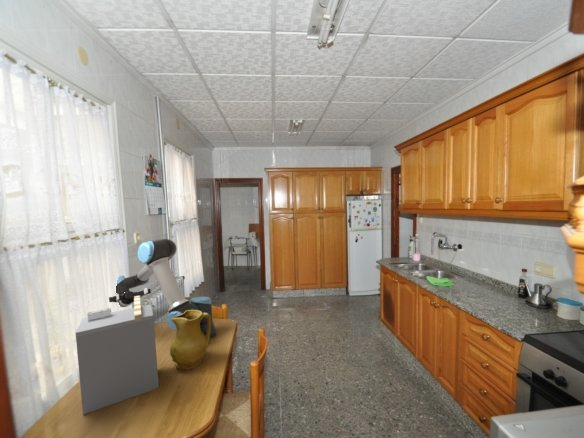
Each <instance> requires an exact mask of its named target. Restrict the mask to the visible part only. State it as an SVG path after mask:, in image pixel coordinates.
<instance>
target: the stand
mask: <svg viewBox="0 0 584 438" xmlns="http://www.w3.org/2000/svg"><path fill="white" fill-rule="evenodd" d="M111 314H112V315H111V316H110V317H106V318H101V319H96V320H92V321H88V317H84V318H82V319H81V320H80V323H79V325H78V327H77V329H76V331H75V342H76V353H77V362H78V372H79V374H78V376H79V384H80V396H81V397H80V398H81V406H82V416H83V415H87V414H89V413H92V412H94V411H98V410H101V409H104V408H106V407H108V406H111V405H114V404H117V403H120V402H122V401H125V400H128V399H131V398H133V397H137V396H140V395H143V394H145V393H148V392H150V391H153V390H156V389H158V388H159V387H160V386H159V385H160V383H159V371H158V360H157V358H158V357H157V346H156V345H157V344H156V334H155V321H154V312H153V307H152V303H151V304H147V305H142V306H141V317H142V320H141V321H136V322H135V317H134V307H131V308H127V309H123V310H117V311H113V312H112V311H111Z"/></svg>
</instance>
